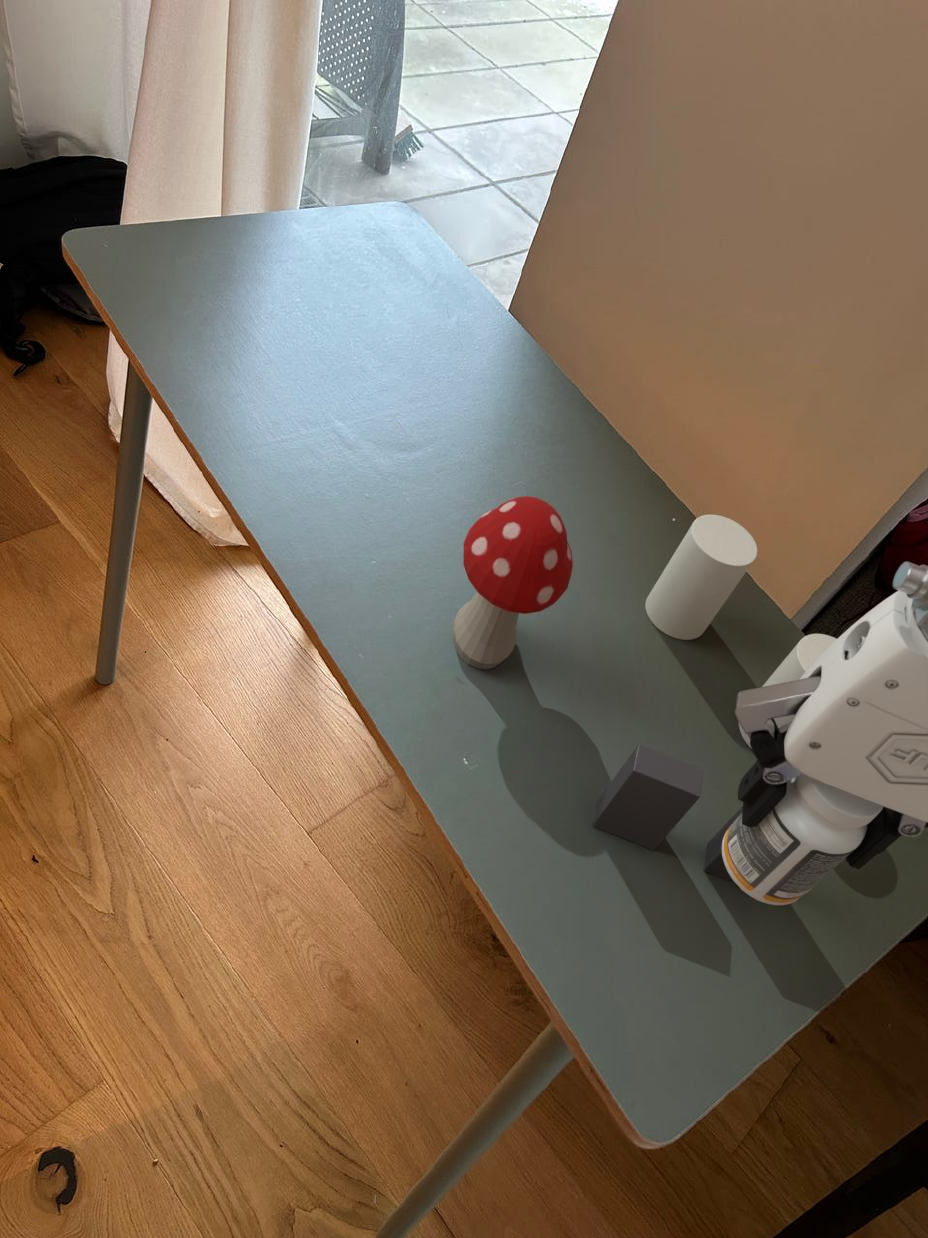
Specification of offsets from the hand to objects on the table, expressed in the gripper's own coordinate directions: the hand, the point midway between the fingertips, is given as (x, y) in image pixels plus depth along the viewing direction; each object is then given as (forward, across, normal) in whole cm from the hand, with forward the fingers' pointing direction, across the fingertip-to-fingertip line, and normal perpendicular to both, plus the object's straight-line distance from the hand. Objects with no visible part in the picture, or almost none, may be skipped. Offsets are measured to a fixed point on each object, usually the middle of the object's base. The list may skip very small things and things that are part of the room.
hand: (801, 824), depth 58 cm
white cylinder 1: (+17, -4, +32) cm, 37 cm away
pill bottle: (+5, 0, 0) cm, 5 cm away
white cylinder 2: (+17, +6, +23) cm, 29 cm away
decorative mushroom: (+17, -20, +20) cm, 33 cm away
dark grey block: (+18, +4, +8) cm, 20 cm away
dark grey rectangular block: (+17, -5, +8) cm, 20 cm away
